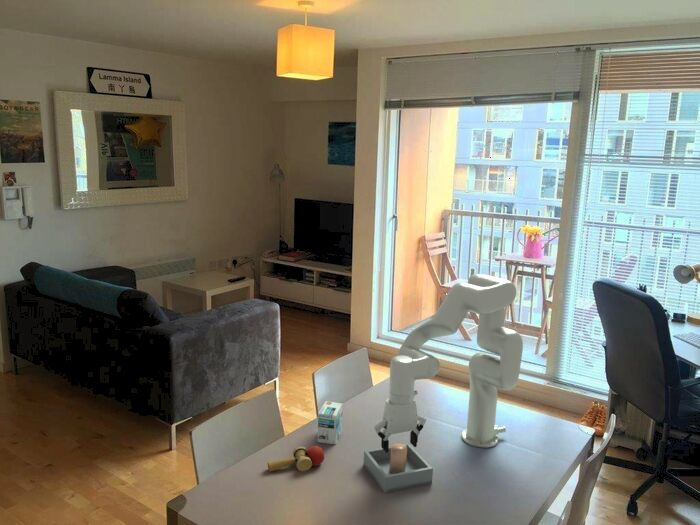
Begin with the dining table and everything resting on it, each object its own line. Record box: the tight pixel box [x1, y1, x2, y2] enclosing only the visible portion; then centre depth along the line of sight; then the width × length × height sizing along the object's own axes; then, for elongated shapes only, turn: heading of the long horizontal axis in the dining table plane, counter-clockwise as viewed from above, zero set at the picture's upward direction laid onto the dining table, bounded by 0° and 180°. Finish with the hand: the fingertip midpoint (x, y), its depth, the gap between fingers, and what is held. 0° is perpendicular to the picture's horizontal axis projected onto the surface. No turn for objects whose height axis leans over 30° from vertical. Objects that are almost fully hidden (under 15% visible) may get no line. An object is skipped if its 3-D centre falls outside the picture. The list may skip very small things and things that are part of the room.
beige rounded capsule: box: [389, 442, 407, 474], centre depth 177 cm, size 5×5×8 cm
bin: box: [363, 443, 434, 494], centre depth 177 cm, size 16×16×5 cm
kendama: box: [267, 445, 325, 473], centre depth 179 cm, size 8×6×18 cm
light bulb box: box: [317, 400, 344, 445], centre depth 199 cm, size 11×7×11 cm, turn 168°
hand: (399, 447), depth 176 cm, fingers open, 9 cm apart
